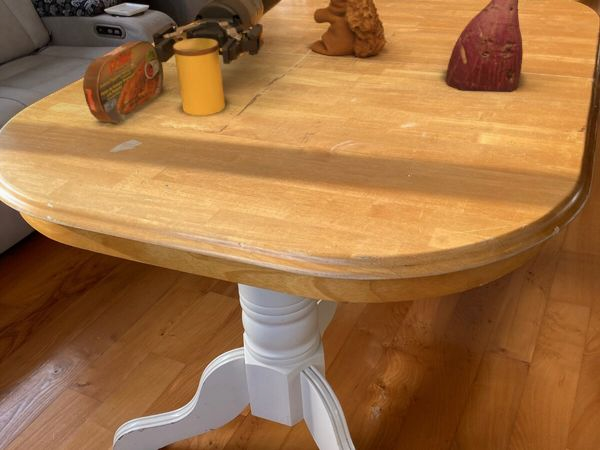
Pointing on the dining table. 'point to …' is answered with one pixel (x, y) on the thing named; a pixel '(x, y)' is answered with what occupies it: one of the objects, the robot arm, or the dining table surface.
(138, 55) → the tin
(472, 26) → the vegetable
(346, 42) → the stuffed squirrel
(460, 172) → the dining table surface
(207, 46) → the yellow canister
